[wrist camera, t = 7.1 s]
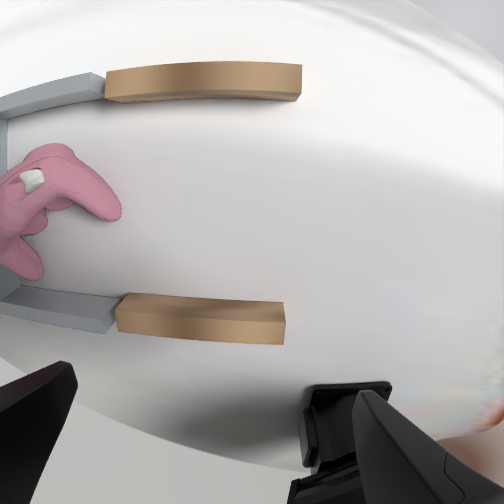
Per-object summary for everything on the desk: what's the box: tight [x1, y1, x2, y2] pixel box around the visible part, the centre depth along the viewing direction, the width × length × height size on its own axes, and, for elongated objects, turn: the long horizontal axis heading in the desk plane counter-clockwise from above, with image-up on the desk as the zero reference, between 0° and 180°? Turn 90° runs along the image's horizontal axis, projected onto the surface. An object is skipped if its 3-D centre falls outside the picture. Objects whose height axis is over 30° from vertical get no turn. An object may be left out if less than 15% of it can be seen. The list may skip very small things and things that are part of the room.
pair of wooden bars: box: [105, 61, 302, 345], centre depth 17 cm, size 10×15×2 cm, turn 178°
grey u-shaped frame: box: [0, 72, 121, 334], centre depth 17 cm, size 10×15×3 cm
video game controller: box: [0, 143, 122, 281], centre depth 16 cm, size 10×5×7 cm, turn 119°
